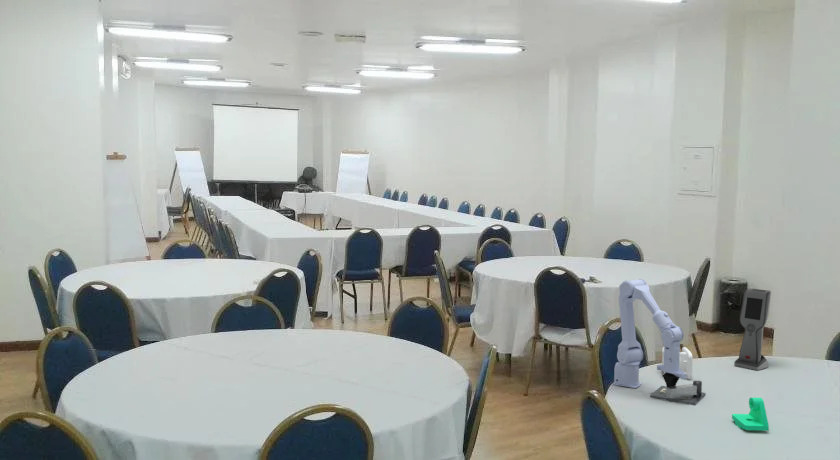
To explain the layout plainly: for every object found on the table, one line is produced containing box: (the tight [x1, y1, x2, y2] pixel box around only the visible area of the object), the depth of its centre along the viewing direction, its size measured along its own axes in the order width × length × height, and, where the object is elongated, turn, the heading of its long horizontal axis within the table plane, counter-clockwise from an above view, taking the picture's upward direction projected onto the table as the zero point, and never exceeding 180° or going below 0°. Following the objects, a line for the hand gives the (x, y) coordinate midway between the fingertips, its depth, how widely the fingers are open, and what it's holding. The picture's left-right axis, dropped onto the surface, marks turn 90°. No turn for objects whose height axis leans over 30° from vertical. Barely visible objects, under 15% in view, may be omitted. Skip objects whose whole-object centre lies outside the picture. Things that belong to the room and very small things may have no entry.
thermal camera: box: [733, 288, 772, 372], centre depth 315 cm, size 12×13×35 cm
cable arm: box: [665, 380, 703, 398], centre depth 267 cm, size 16×3×5 cm, turn 111°
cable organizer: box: [661, 346, 694, 380], centre depth 299 cm, size 15×11×12 cm
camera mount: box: [731, 397, 770, 432], centre depth 236 cm, size 12×8×10 cm, turn 177°
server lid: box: [649, 385, 706, 406], centre depth 271 cm, size 17×16×1 cm
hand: (670, 392), depth 268 cm, fingers closed
